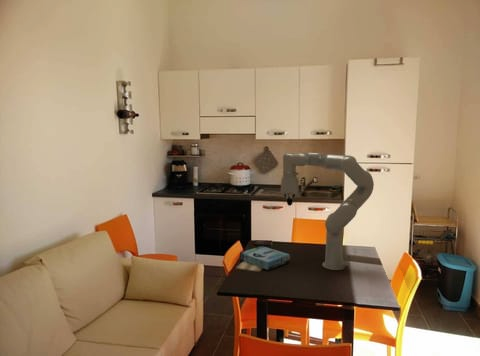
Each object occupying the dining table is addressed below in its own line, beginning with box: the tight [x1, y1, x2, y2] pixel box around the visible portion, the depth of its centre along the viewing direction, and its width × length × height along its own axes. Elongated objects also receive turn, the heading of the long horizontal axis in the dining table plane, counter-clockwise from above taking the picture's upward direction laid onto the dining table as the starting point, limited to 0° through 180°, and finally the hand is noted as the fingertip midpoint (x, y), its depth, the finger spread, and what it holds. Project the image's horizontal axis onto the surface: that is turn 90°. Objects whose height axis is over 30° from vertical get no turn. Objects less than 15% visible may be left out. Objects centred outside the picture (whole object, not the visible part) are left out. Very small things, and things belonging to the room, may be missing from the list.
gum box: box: [239, 245, 291, 271], centre depth 221 cm, size 20×5×23 cm
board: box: [235, 261, 264, 273], centre depth 218 cm, size 14×22×1 cm, turn 158°
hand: (289, 205), depth 219 cm, fingers closed
